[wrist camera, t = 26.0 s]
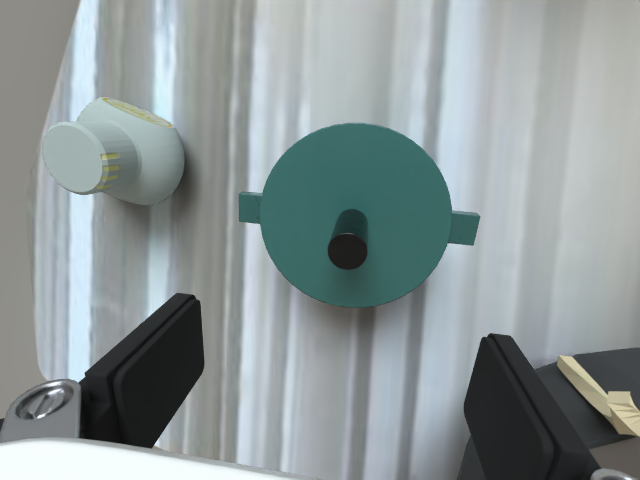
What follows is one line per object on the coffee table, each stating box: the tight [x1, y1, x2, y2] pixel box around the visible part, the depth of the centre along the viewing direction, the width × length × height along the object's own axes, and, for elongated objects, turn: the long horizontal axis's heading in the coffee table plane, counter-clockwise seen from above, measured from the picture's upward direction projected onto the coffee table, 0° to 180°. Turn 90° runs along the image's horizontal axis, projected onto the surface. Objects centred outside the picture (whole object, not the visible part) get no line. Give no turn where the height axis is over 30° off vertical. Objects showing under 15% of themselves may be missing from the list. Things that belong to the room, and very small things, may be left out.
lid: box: [260, 123, 452, 308], centre depth 23 cm, size 15×15×7 cm
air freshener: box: [42, 97, 185, 205], centre depth 31 cm, size 11×8×10 cm
